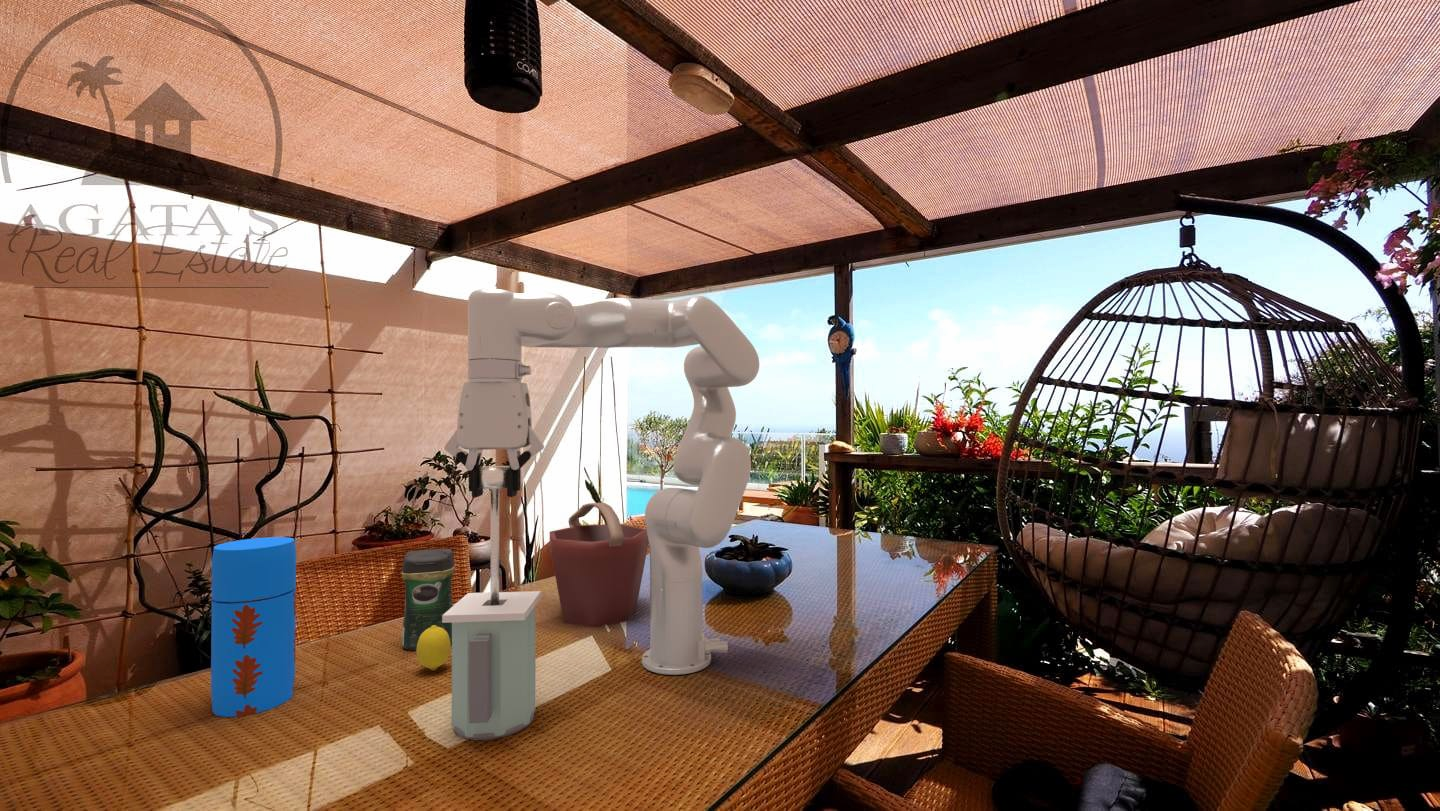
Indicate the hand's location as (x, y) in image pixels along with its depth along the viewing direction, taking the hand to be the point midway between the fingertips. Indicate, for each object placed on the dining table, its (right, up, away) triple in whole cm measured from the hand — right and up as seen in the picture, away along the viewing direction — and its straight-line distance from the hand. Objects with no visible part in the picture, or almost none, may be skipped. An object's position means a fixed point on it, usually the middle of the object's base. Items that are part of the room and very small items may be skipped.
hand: (494, 494), depth 94 cm
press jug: (0, -33, -2) cm, 33 cm away
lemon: (-17, -34, +18) cm, 42 cm away
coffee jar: (-24, -34, +32) cm, 53 cm away
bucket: (+6, -34, +50) cm, 61 cm away
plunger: (0, -20, 0) cm, 20 cm away
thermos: (-41, -34, +6) cm, 53 cm away
